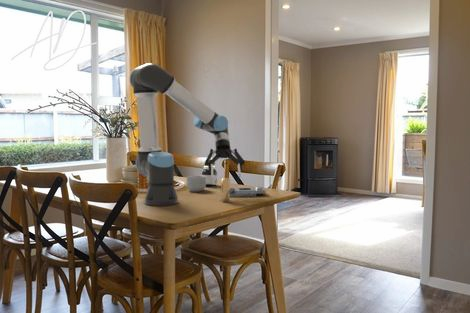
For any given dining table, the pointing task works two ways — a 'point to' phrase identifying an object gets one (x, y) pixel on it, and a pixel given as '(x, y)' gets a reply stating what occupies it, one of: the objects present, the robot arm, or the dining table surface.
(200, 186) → the teacup
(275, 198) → the dining table surface
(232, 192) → the link
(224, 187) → the pin
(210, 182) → the spread jar
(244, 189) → the link
